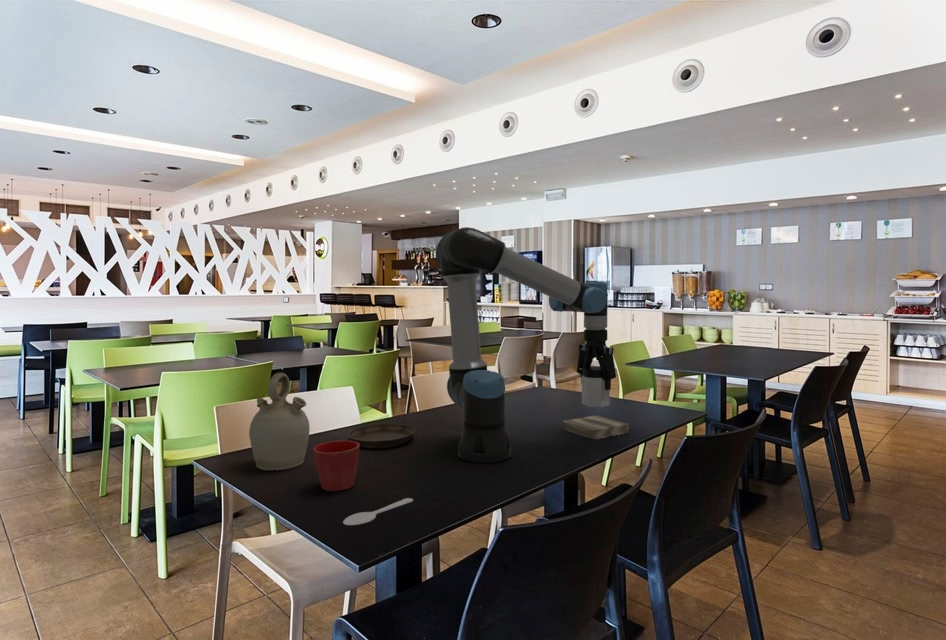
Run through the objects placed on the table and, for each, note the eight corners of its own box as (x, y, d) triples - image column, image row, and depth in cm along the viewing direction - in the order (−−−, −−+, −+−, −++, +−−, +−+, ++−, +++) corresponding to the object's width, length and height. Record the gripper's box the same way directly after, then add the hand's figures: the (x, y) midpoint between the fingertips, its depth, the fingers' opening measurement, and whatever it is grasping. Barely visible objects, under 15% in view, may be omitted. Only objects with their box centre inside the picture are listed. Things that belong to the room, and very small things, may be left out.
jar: (598, 408, 176) (598, 370, 176) (577, 404, 182) (577, 368, 182) (614, 404, 183) (614, 368, 182) (592, 400, 188) (593, 365, 188)
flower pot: (305, 486, 133) (304, 446, 133) (345, 475, 141) (344, 437, 141) (328, 497, 126) (327, 455, 125) (369, 485, 134) (368, 445, 133)
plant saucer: (335, 448, 167) (334, 437, 166) (368, 431, 186) (368, 421, 186) (397, 453, 160) (397, 442, 160) (425, 435, 180) (425, 425, 180)
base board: (594, 439, 173) (594, 430, 172) (562, 429, 185) (562, 420, 185) (628, 433, 180) (628, 424, 180) (596, 423, 193) (596, 415, 193)
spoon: (420, 503, 123) (420, 501, 123) (352, 529, 109) (352, 527, 109) (404, 497, 126) (404, 495, 126) (336, 522, 113) (336, 519, 113)
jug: (322, 460, 154) (320, 370, 152) (276, 476, 140) (274, 378, 139) (284, 452, 161) (282, 367, 160) (237, 467, 148) (234, 374, 147)
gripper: (628, 330, 174) (628, 401, 175) (582, 326, 192) (582, 391, 193) (611, 331, 170) (610, 404, 171) (565, 327, 188) (565, 393, 190)
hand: (595, 397), depth 182 cm, fingers closed on jar, 9 cm apart
